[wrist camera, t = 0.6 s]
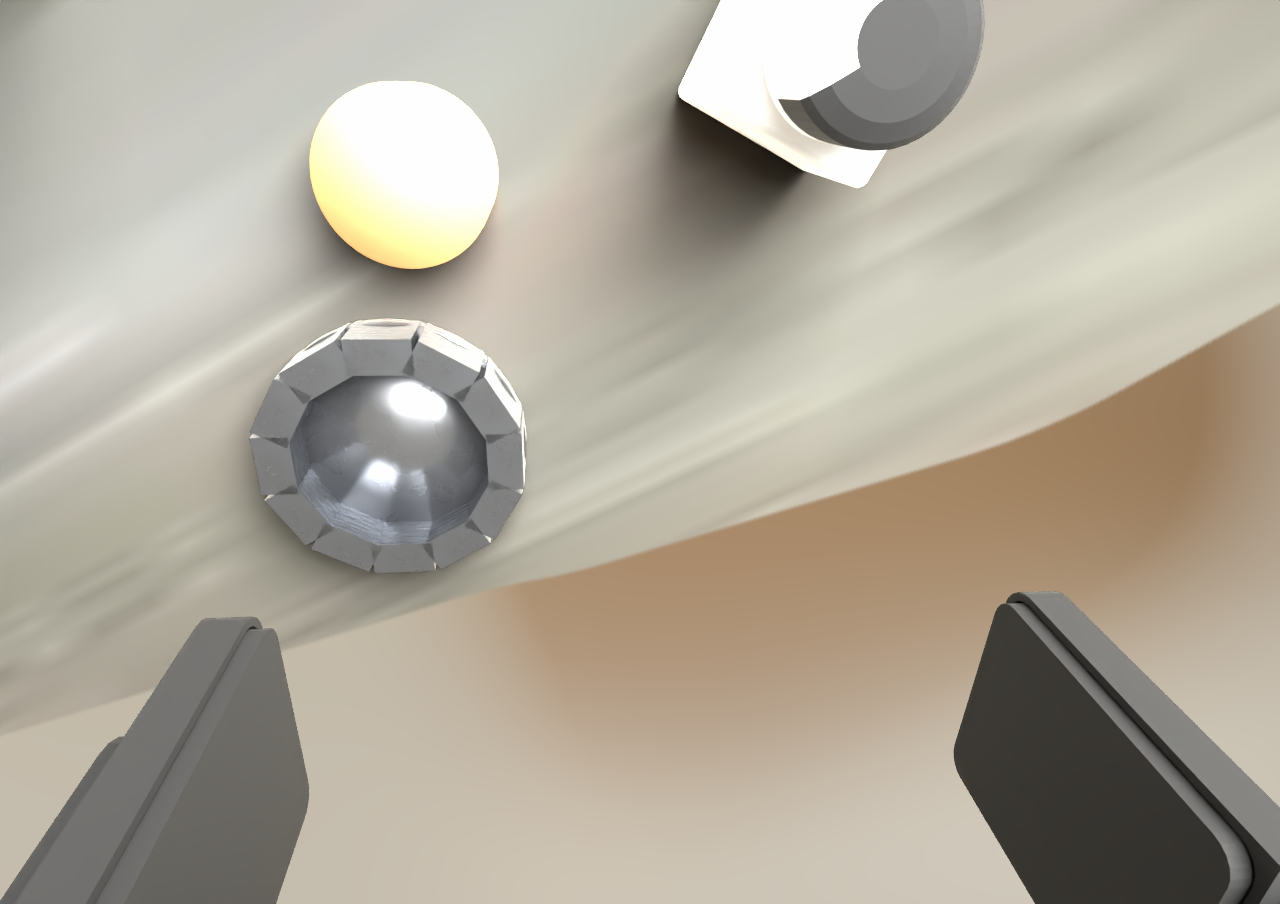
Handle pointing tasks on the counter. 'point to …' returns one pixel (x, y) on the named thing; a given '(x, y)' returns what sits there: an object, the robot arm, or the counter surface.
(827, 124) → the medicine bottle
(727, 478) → the counter surface
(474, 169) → the pale yellow rounded lump
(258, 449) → the faceted metal bowl
